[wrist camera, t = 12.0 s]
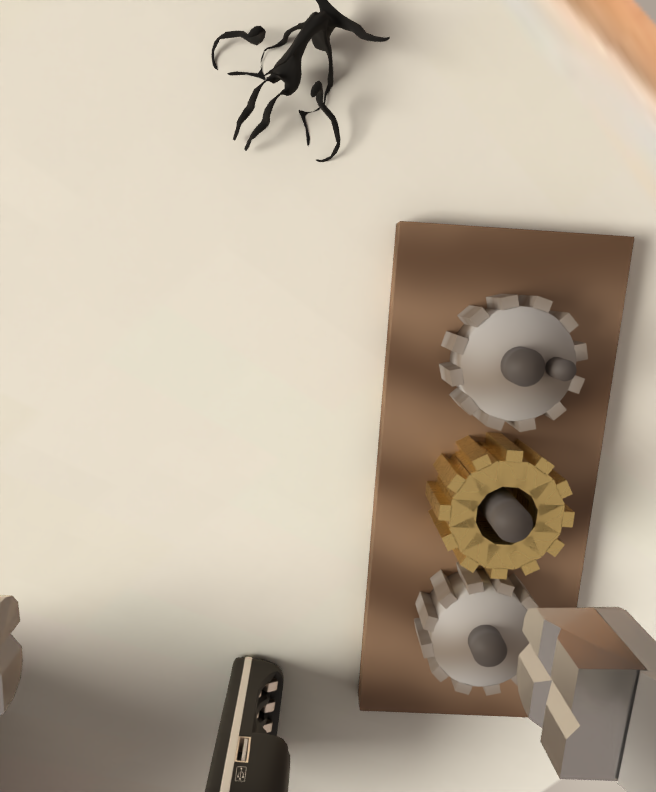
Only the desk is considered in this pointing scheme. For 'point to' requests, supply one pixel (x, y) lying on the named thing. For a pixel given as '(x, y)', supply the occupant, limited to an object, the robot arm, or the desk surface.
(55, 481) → the desk surface
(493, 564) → the brass gear
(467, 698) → the gear board
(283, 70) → the creature
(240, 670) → the battery charger
